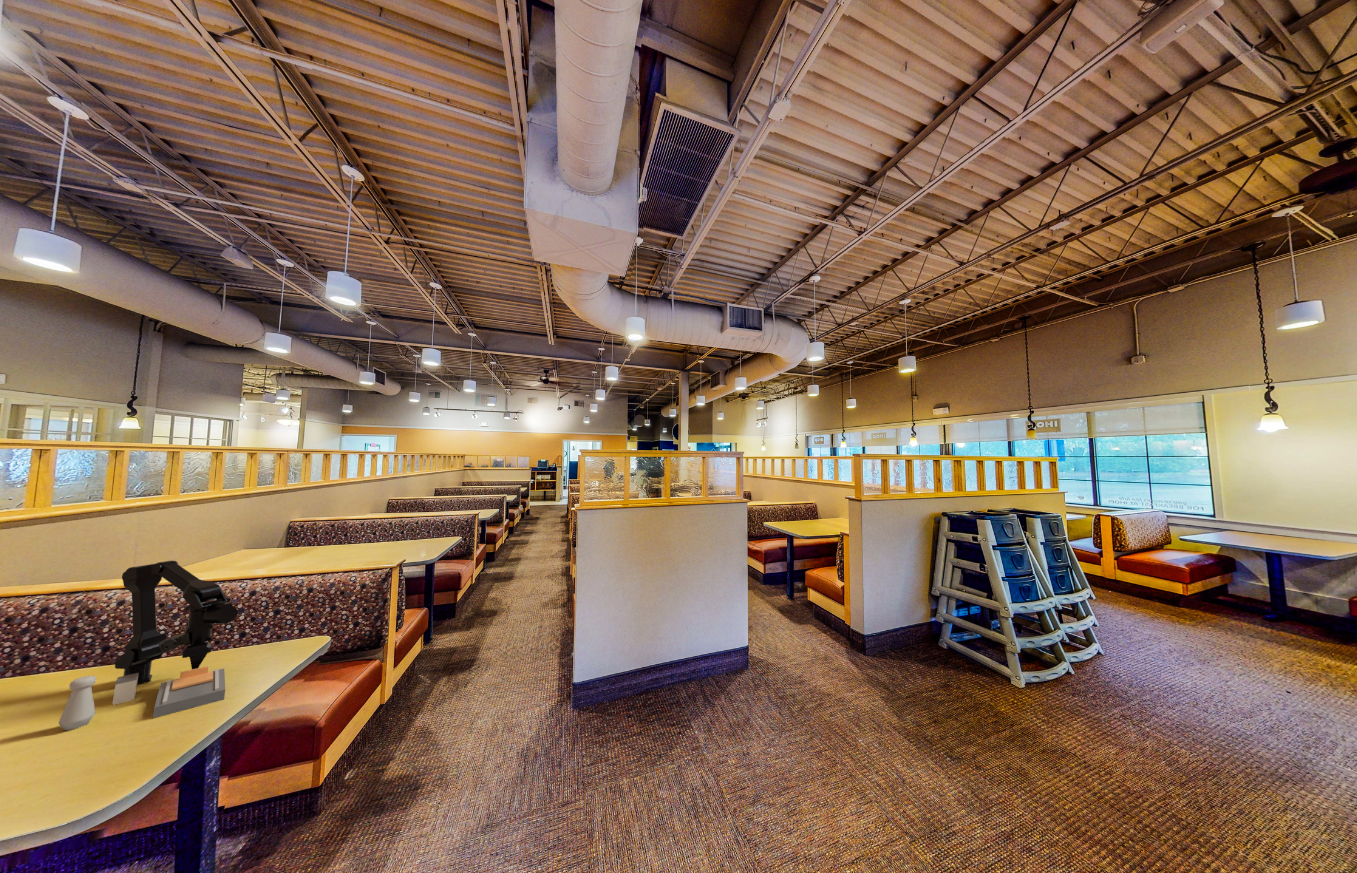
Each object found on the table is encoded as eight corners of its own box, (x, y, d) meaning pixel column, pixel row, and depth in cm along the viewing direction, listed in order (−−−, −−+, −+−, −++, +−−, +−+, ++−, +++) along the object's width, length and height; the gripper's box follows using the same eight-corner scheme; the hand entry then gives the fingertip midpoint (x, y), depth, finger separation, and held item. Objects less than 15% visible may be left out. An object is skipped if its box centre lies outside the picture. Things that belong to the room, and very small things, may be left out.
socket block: (159, 692, 133) (161, 680, 134) (223, 677, 144) (224, 666, 144) (152, 718, 119) (154, 705, 119) (224, 699, 129) (225, 687, 130)
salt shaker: (65, 733, 112) (73, 683, 113) (51, 731, 113) (59, 681, 114) (99, 721, 117) (106, 674, 119) (85, 719, 119) (92, 672, 120)
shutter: (173, 681, 134) (174, 673, 134) (212, 672, 140) (213, 664, 141) (171, 690, 128) (172, 681, 129) (212, 680, 135) (213, 672, 135)
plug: (114, 700, 129) (117, 677, 129) (135, 695, 132) (138, 672, 132) (112, 705, 126) (115, 681, 127) (133, 699, 129) (137, 676, 130)
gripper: (165, 622, 141) (159, 670, 139) (160, 636, 129) (153, 688, 127) (213, 614, 149) (208, 659, 148) (213, 626, 137) (208, 675, 136)
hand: (194, 670), depth 139 cm, fingers closed
